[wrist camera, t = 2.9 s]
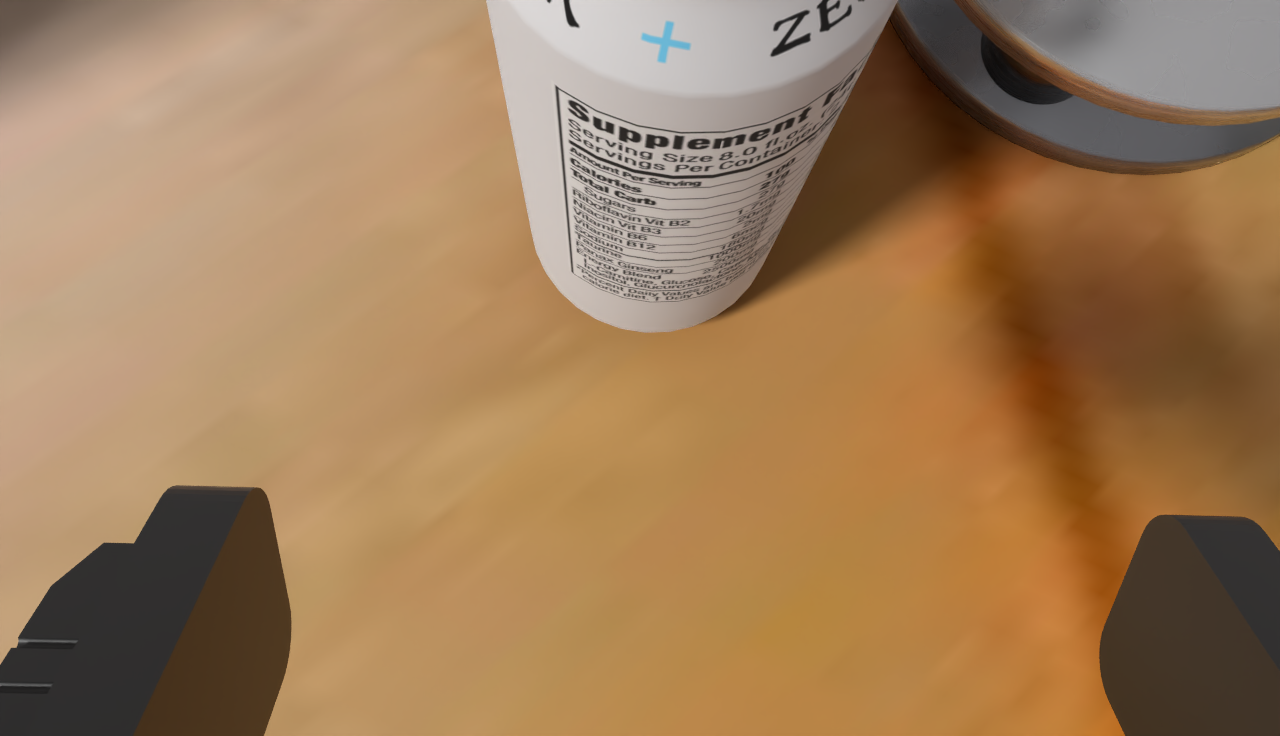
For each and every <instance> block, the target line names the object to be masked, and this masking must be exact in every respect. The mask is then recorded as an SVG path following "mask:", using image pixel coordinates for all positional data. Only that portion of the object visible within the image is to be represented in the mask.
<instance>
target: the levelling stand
mask: <svg viewBox="0 0 1280 736" xmlns="http://www.w3.org/2000/svg"><path fill="white" fill-rule="evenodd" d="M889 18H890V20H891V23H892V25H893V27H894V29H895V30H896V32H897V34H898V35H899V37H900V38H901V40H902V42H903V43H904V45H905V47H906V48H907V50H908V51H909V53H910V55H911V56H912V57H913V58H914V60H915V61H916V62H917V63H918V65H919V66H920V67H921V68H922V70H923V71H924V72H925V73H926V74H927V76H928V77H929V78H930V79H931V81H932V82H933V83H934V84H935V85H937V86H938V87H939V88H940V89H941V90H942V91H943V92H944V93H945V94H946V95H947V96H948V97H949V98H950V99H951V100H952V101H953V102H954V103H955V104H956V105H957V106H959V107H960V108H961V109H963V110H964V111H965V112H967V113H968V114H969V115H971V116H972V117H973V118H975V119H976V120H977V121H978V122H980V123H981V124H982V125H984V126H986V127H987V128H989V129H991V130H992V131H994V132H996V133H997V134H999V135H1001V136H1003V137H1004V138H1006V139H1008V140H1009V141H1011V142H1013V143H1015V144H1017V145H1019V146H1022V147H1024V148H1026V149H1028V150H1031V151H1033V152H1035V153H1037V154H1040V155H1042V156H1044V157H1047V158H1051V159H1054V160H1057V161H1060V162H1064V163H1067V164H1070V165H1073V166H1077V167H1081V168H1086V169H1092V170H1098V171H1103V172H1109V173H1118V174H1136V175H1154V174H1169V173H1181V172H1186V171H1191V170H1196V169H1201V168H1205V167H1210V166H1214V165H1217V164H1220V163H1222V162H1225V161H1228V160H1231V159H1234V158H1237V157H1240V156H1242V155H1244V154H1246V153H1248V152H1250V151H1252V150H1254V149H1256V148H1258V147H1260V146H1262V145H1264V144H1266V143H1268V142H1269V141H1271V140H1273V139H1274V138H1276V137H1277V136H1279V135H1280V0H898V1H897V3H896V5H895V7H894V9H893V11H892V13H891V15H890V17H889Z"/></svg>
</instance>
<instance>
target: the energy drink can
mask: <svg viewBox="0 0 1280 736" xmlns="http://www.w3.org/2000/svg"><path fill="white" fill-rule="evenodd" d="M486 1H487V7H488V12H489V17H490V22H491V27H492V32H493V37H494V42H495V48H496V53H497V58H498V63H499V68H500V73H501V78H502V84H503V89H504V94H505V99H506V104H507V109H508V114H509V119H510V125H511V130H512V135H513V140H514V145H515V150H516V155H517V161H518V166H519V171H520V176H521V181H522V186H523V191H524V196H525V202H526V207H527V212H528V217H529V222H530V227H531V232H532V236H533V241H534V245H535V249H536V253H537V255H538V257H539V259H540V261H541V263H542V266H543V268H544V270H545V272H546V274H547V275H548V276H549V278H550V279H551V280H552V282H553V283H554V285H555V286H556V287H557V289H558V290H559V291H560V292H561V293H562V294H563V295H564V296H565V297H566V298H567V299H568V300H569V301H571V302H572V303H573V304H574V305H575V306H576V307H577V308H579V309H580V310H582V311H584V312H585V313H587V314H589V315H590V316H592V317H594V318H595V319H597V320H599V321H602V322H604V323H607V324H610V325H612V326H615V327H618V328H621V329H626V330H633V331H639V332H645V333H646V332H671V331H675V330H679V329H684V328H688V327H693V326H695V325H697V324H700V323H702V322H704V321H706V320H709V319H711V318H713V317H715V316H717V315H718V314H719V313H721V312H722V311H724V310H725V309H726V308H728V307H729V306H731V305H732V304H734V303H735V302H736V301H737V299H738V298H739V297H740V296H741V295H742V294H743V293H744V292H745V291H746V290H747V289H748V288H749V287H750V285H751V284H752V282H753V281H754V279H755V277H756V276H757V274H758V272H759V271H760V269H761V267H762V266H763V264H764V262H765V260H766V258H767V256H768V254H769V252H770V250H771V248H772V246H773V244H774V242H775V240H776V238H777V236H778V234H779V232H780V230H781V228H782V226H783V224H784V223H785V221H786V219H787V217H788V215H789V213H790V211H791V209H792V207H793V205H794V203H795V201H796V199H797V197H798V195H799V193H800V191H801V189H802V187H803V185H804V183H805V181H806V179H807V177H808V176H809V174H810V172H811V170H812V168H813V166H814V164H815V162H816V160H817V158H818V156H819V154H820V152H821V150H822V148H823V146H824V144H825V142H826V140H827V138H828V136H829V134H830V132H831V130H832V129H833V127H834V125H835V123H836V121H837V119H838V117H839V115H840V113H841V111H842V109H843V107H844V105H845V103H846V101H847V99H848V97H849V95H850V93H851V91H852V89H853V87H854V85H855V83H856V81H857V80H858V78H859V76H860V74H861V72H862V70H863V68H864V66H865V64H866V62H867V60H868V58H869V56H870V54H871V52H872V50H873V48H874V46H875V44H876V42H877V40H878V38H879V36H880V34H881V33H882V31H883V29H884V27H885V25H886V23H887V21H888V19H889V17H890V15H891V13H892V11H893V9H894V7H895V5H896V3H897V1H898V0H486Z"/></svg>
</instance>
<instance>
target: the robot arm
mask: <svg viewBox="0 0 1280 736" xmlns="http://www.w3.org/2000/svg"><path fill="white" fill-rule="evenodd" d="M18 639H19V642H18V646H17V648H11V649H10V651H9V652H8V654H7V655H6V657H5V659H4V660H3V662H2V663H1V665H0V736H264V733H265V731H266V728H267V725H268V722H269V719H270V716H271V713H272V711H273V708H274V705H275V702H276V699H277V696H278V693H279V690H280V688H281V685H282V682H283V679H284V675H285V672H286V668H287V663H288V658H289V651H290V642H291V610H290V604H289V599H288V594H287V589H286V584H285V579H284V574H283V569H282V564H281V559H280V554H279V549H278V544H277V539H276V534H275V529H274V523H273V518H272V513H271V508H270V504H269V501H268V498H267V495H266V494H265V492H264V491H263V490H262V489H261V488H254V487H217V486H180V485H176V486H172V487H170V488H169V489H167V490H166V492H165V493H164V494H163V495H162V497H161V498H160V500H159V501H158V503H157V505H156V506H155V508H154V510H153V512H152V513H151V515H150V517H149V519H148V520H147V522H146V524H145V525H144V527H143V529H142V531H141V532H140V534H139V536H138V538H137V539H136V541H135V543H134V544H131V543H103V544H102V545H101V546H99V547H98V548H97V549H96V550H95V551H93V552H92V553H91V554H90V555H88V556H87V557H86V558H85V559H84V560H82V561H81V562H80V563H79V564H77V565H76V566H75V567H74V568H73V569H71V570H70V571H69V572H68V573H66V574H65V575H64V576H63V577H62V578H60V579H59V580H58V581H57V582H55V583H54V584H53V585H52V586H51V587H50V589H49V590H48V592H47V593H46V595H45V596H44V598H43V600H42V601H41V603H40V604H39V606H38V607H37V609H36V610H35V612H34V614H33V615H32V617H31V618H30V620H29V621H28V623H27V624H26V626H25V628H24V629H23V631H22V632H21V634H20V635H19V637H18ZM1099 659H1100V670H1101V677H1102V682H1103V686H1104V689H1105V692H1106V695H1107V698H1108V700H1109V702H1110V704H1111V707H1112V709H1113V711H1114V713H1115V715H1116V717H1117V719H1118V721H1119V723H1120V725H1121V728H1122V730H1123V732H1124V734H1125V736H1280V551H1279V550H1278V549H1277V547H1276V546H1275V545H1274V543H1273V542H1272V541H1271V539H1270V538H1269V537H1268V535H1267V534H1266V533H1265V531H1264V530H1263V529H1262V528H1261V527H1260V526H1259V525H1258V524H1257V523H1255V522H1254V521H1252V520H1250V519H1248V518H1245V517H1230V516H1192V515H1159V516H1157V517H1155V518H1153V519H1152V520H1151V521H1150V522H1149V523H1148V525H1147V526H1146V528H1145V530H1144V532H1143V534H1142V536H1141V538H1140V541H1139V543H1138V546H1137V548H1136V551H1135V553H1134V555H1133V558H1132V560H1131V563H1130V565H1129V568H1128V570H1127V572H1126V575H1125V577H1124V580H1123V582H1122V585H1121V587H1120V589H1119V592H1118V594H1117V597H1116V599H1115V602H1114V604H1113V606H1112V609H1111V611H1110V614H1109V616H1108V618H1107V621H1106V623H1105V626H1104V629H1103V632H1102V636H1101V641H1100V656H1099Z"/></svg>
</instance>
